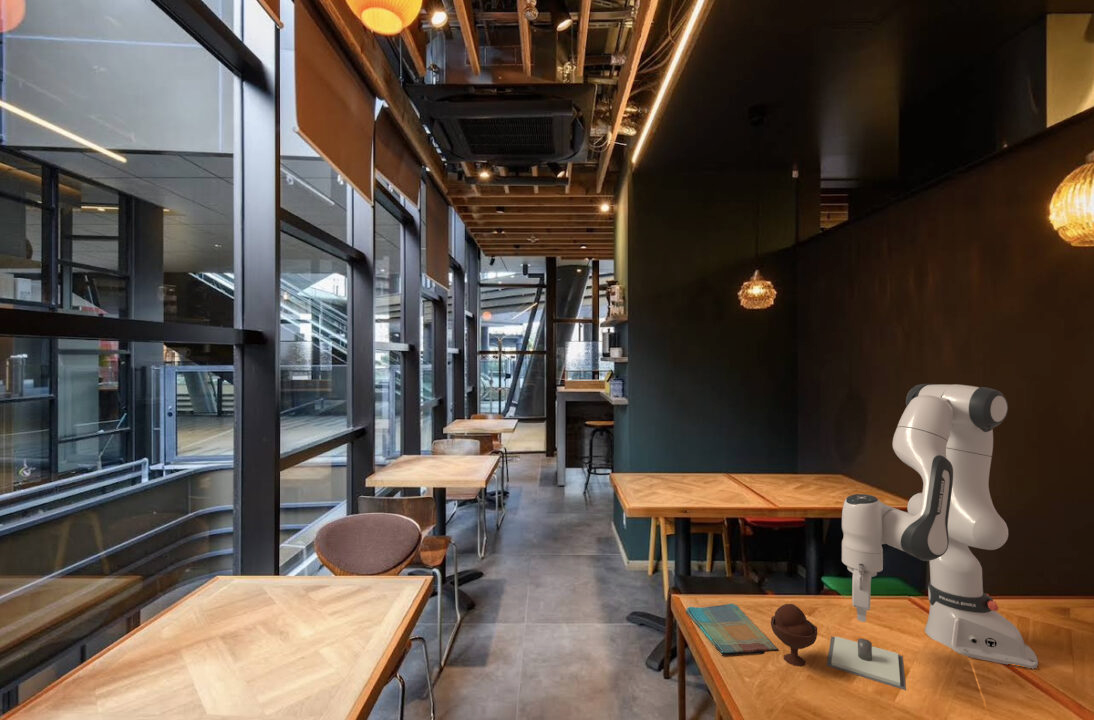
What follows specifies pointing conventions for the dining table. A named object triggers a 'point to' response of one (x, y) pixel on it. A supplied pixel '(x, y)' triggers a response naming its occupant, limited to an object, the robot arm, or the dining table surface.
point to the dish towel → (730, 630)
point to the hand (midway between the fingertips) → (862, 612)
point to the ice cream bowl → (793, 631)
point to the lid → (866, 659)
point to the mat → (901, 672)
